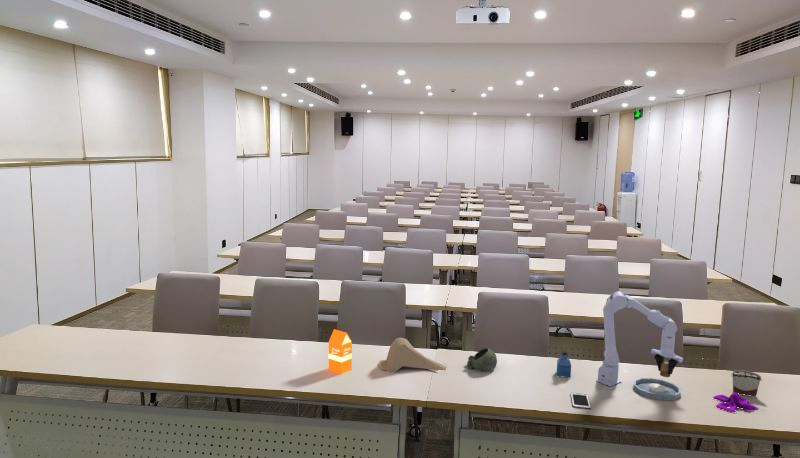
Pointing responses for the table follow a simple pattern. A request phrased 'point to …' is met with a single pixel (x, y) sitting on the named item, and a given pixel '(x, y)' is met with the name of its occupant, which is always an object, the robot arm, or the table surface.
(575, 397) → the cell phone
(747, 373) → the food container
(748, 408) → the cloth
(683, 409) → the table surface
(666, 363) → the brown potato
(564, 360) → the perfume bottle
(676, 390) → the round tray
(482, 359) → the green round pot
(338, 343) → the orange juice
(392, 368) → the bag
